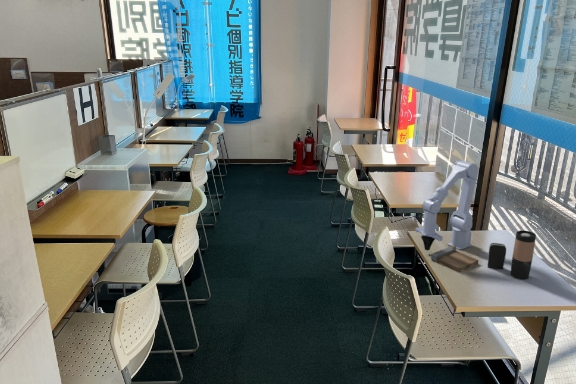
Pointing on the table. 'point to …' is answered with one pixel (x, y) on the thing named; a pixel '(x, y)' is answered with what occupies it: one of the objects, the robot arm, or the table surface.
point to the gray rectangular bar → (441, 253)
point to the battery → (496, 255)
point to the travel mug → (522, 254)
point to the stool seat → (457, 260)
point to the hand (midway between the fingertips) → (427, 249)
